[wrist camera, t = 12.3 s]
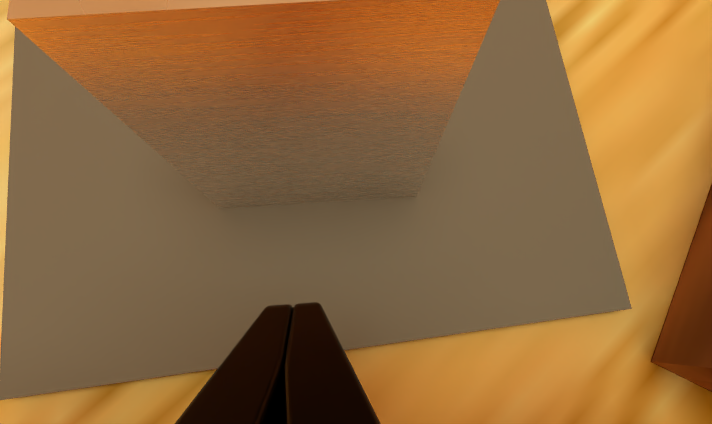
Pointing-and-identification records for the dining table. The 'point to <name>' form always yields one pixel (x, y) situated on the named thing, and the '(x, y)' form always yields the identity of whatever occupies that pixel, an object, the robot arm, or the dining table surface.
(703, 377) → the slot box
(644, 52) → the dining table surface
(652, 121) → the dining table surface
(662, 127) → the dining table surface
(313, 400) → the robot arm
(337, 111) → the wooden block
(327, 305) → the rubber mat
